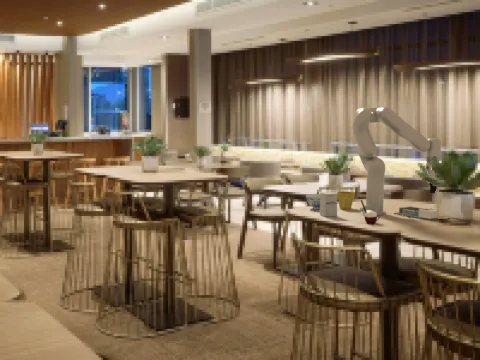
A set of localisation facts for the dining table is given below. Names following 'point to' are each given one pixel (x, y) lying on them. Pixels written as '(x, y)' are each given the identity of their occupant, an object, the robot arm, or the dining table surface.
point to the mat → (417, 217)
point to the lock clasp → (428, 213)
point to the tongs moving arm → (418, 209)
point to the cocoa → (370, 215)
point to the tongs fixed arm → (408, 211)
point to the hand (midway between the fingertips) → (433, 192)
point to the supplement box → (328, 204)
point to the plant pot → (345, 199)
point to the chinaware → (314, 200)
